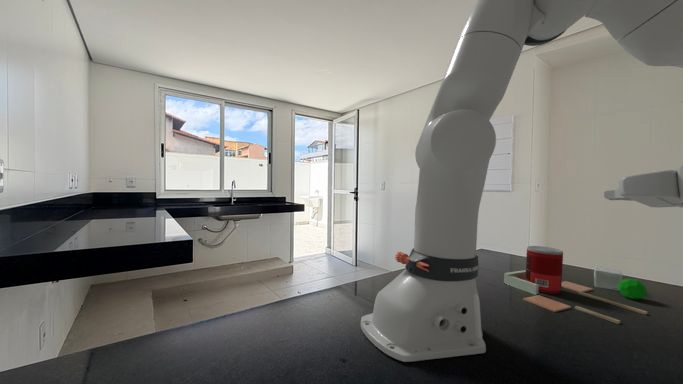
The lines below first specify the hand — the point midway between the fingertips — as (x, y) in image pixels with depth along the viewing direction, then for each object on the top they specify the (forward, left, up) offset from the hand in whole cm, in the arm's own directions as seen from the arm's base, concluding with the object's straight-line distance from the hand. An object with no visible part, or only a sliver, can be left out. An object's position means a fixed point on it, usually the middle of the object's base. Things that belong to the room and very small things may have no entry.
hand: (606, 195), depth 64 cm
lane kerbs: (0, +1, -26) cm, 26 cm away
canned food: (0, +13, -26) cm, 29 cm away
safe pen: (0, +15, -26) cm, 30 cm away
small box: (+21, +8, -26) cm, 35 cm away
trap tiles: (0, +8, -26) cm, 27 cm away
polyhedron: (+16, +1, -26) cm, 31 cm away
